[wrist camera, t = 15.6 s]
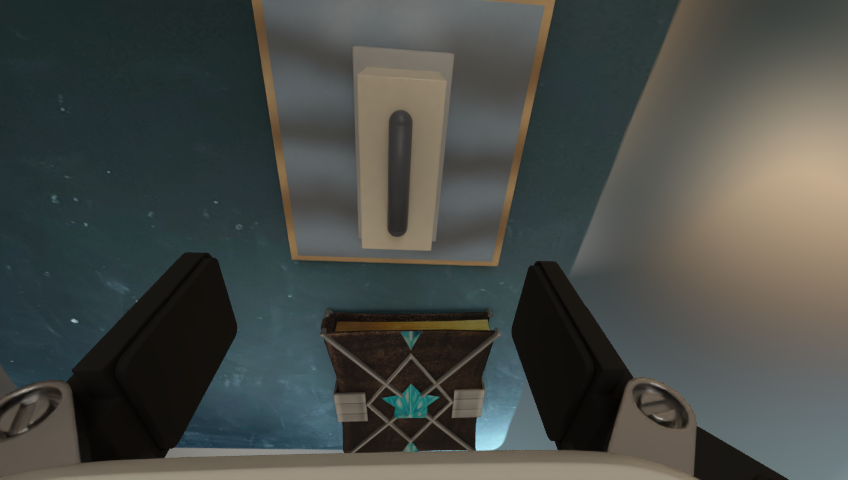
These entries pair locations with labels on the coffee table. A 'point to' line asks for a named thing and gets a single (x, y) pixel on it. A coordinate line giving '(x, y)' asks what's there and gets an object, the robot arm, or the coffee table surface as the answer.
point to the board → (335, 120)
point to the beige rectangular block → (400, 144)
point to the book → (408, 378)
